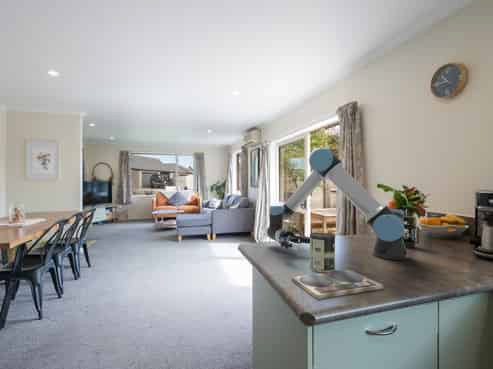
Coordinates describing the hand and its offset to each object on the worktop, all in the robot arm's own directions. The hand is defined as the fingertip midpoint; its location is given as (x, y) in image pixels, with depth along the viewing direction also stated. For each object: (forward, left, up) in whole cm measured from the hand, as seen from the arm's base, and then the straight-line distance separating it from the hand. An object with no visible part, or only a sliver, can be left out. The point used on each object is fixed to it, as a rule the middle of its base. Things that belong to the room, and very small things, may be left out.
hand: (309, 246), depth 116 cm
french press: (-58, -39, -8) cm, 71 cm away
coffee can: (-4, +7, -8) cm, 11 cm away
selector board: (-6, +24, -7) cm, 26 cm away
